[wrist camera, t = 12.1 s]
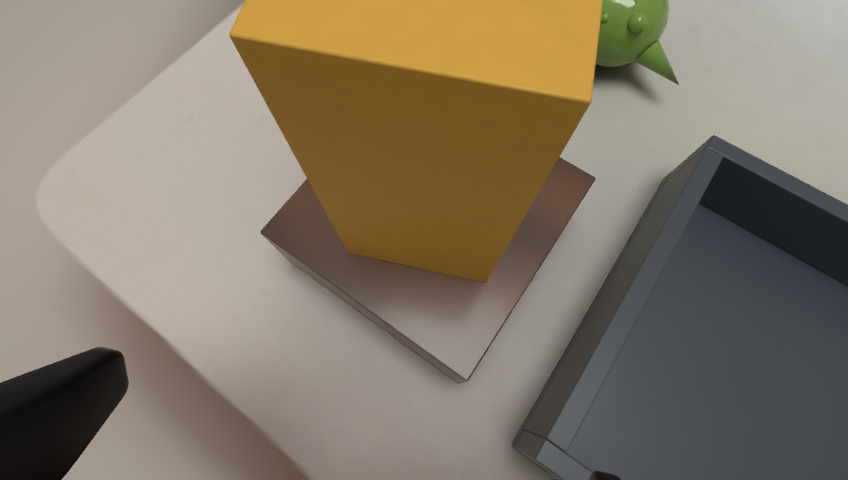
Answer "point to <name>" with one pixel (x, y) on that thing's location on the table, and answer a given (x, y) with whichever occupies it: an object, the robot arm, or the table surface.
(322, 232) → the square wooden tile
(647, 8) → the character figure
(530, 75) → the puzzle block
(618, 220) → the table surface
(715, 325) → the tray
